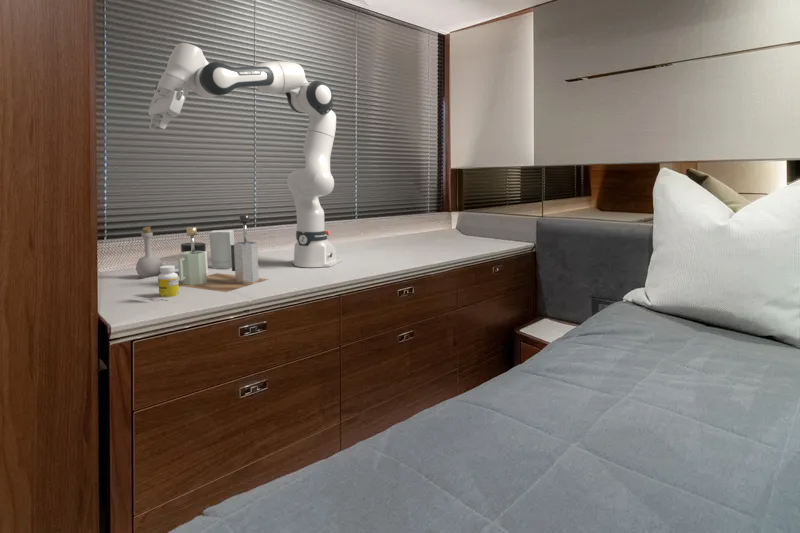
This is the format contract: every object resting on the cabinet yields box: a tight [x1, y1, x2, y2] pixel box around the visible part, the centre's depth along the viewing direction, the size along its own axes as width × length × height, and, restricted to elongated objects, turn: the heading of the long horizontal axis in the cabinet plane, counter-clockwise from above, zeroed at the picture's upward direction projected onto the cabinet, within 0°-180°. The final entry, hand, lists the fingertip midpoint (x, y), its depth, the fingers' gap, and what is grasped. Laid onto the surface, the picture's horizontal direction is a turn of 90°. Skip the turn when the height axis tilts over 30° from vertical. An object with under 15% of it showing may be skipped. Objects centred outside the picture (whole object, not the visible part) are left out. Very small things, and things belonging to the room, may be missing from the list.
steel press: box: [231, 240, 260, 284], centre depth 166 cm, size 7×10×13 cm
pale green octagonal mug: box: [177, 251, 207, 285], centre depth 162 cm, size 10×7×10 cm
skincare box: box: [208, 229, 236, 270], centre depth 194 cm, size 8×6×15 cm
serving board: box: [178, 272, 270, 293], centre depth 165 cm, size 21×23×1 cm
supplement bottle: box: [157, 265, 180, 302], centre depth 146 cm, size 5×5×10 cm
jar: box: [180, 241, 209, 275], centre depth 177 cm, size 9×8×12 cm
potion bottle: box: [135, 225, 164, 280], centre depth 175 cm, size 9×9×18 cm
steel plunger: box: [239, 214, 250, 244], centre depth 164 cm, size 5×5×11 cm
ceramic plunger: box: [186, 226, 198, 254], centre depth 161 cm, size 5×5×10 cm
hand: (156, 128), depth 159 cm, fingers open, 8 cm apart
